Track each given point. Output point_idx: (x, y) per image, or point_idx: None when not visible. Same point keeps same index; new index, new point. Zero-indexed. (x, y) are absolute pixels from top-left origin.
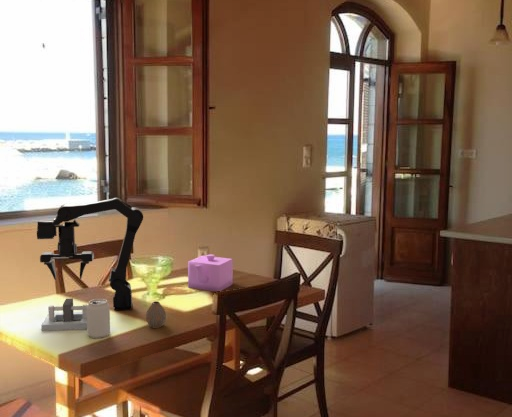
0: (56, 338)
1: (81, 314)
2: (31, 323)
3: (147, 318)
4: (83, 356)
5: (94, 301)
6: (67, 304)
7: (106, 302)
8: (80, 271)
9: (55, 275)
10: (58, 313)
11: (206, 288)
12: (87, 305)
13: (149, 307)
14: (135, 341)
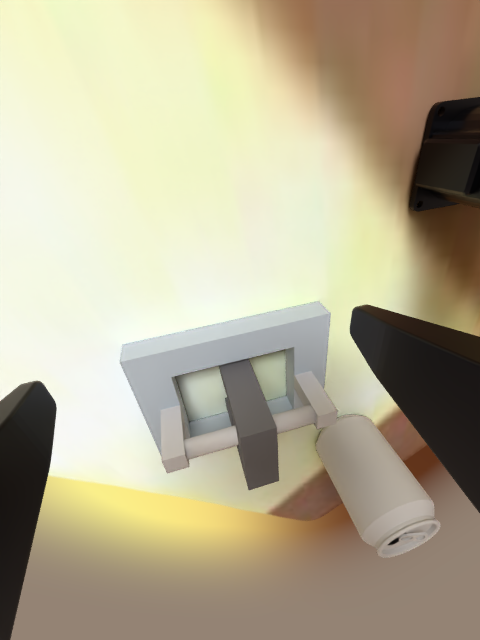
0: (234, 470)
1: (281, 348)
2: (80, 407)
3: None
4: (314, 506)
5: (396, 531)
6: (268, 483)
7: (433, 534)
8: (430, 440)
9: (37, 457)
10: (174, 361)
11: None
12: (366, 537)
13: None
14: (416, 437)
